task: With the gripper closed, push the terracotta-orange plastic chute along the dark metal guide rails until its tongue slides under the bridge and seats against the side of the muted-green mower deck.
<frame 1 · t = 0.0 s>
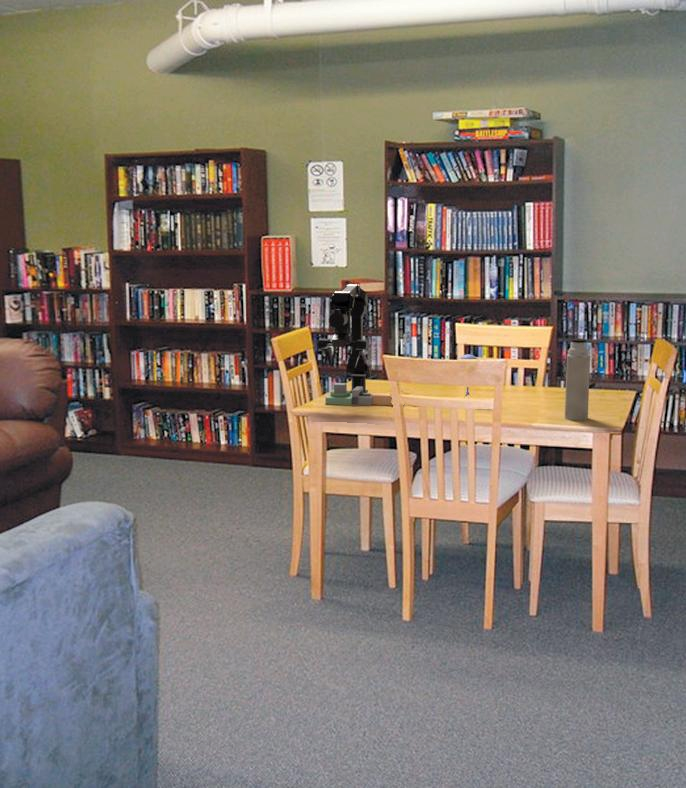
hand: (343, 366, 400), 15 cm above the table, fingers open, 9 cm apart
thermos bottle: (576, 418, 377), on the table
chute: (386, 397, 405), point 2 cm above the table, slide at 6.5 cm
deck: (341, 402, 409), on the table
baby rattle: (467, 401, 410), on the table
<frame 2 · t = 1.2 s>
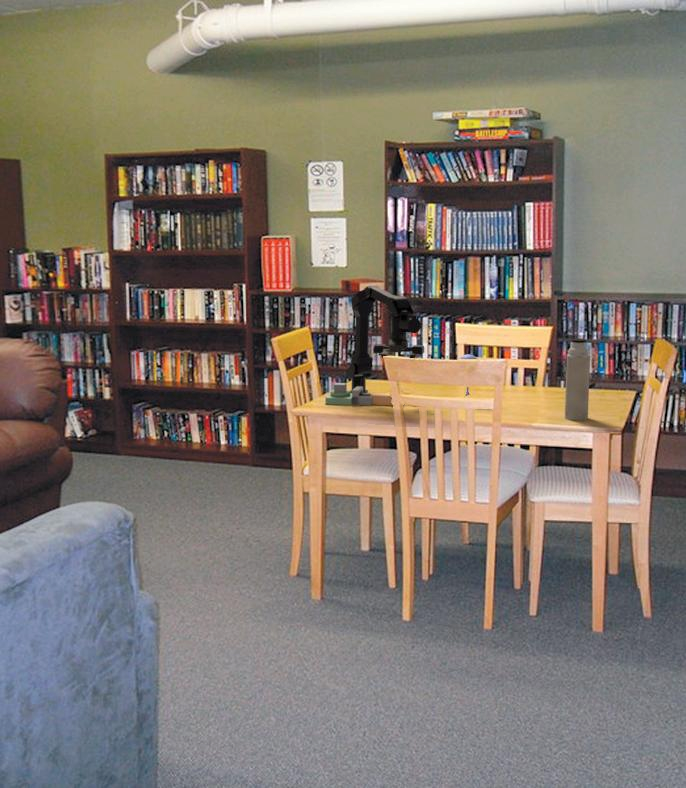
hand: (398, 371, 404), 12 cm above the table, fingers open, 8 cm apart
nothing on the table moved.
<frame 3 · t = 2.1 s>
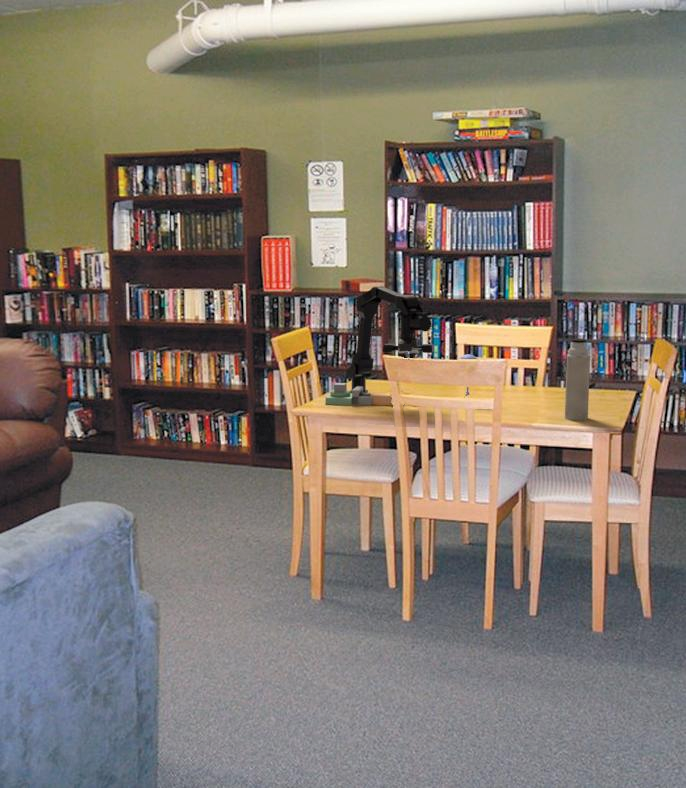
hand: (408, 371, 402), 13 cm above the table, fingers closed
nothing on the table moved.
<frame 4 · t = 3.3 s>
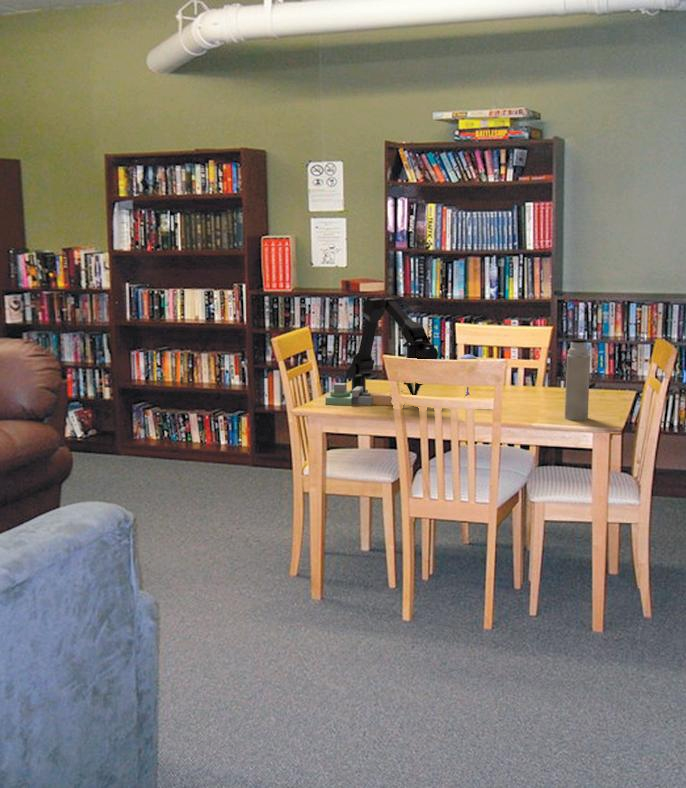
hand: (414, 400, 403), 2 cm above the table, fingers closed
nothing on the table moved.
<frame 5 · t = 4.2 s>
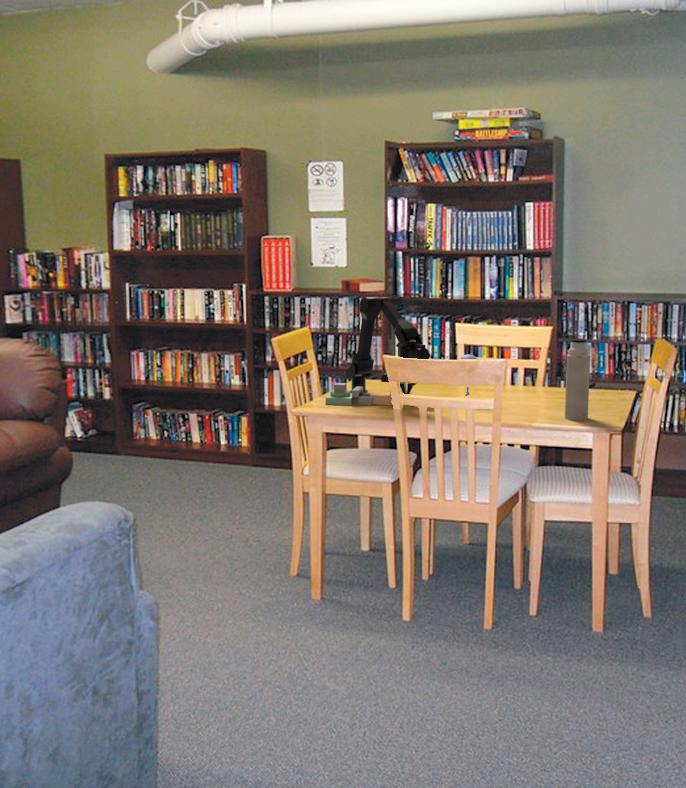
hand: (406, 400, 404), 1 cm above the table, fingers closed
chute: (385, 397, 405), point 2 cm above the table, slide at 6.3 cm, touching gripper
everything else where it was.
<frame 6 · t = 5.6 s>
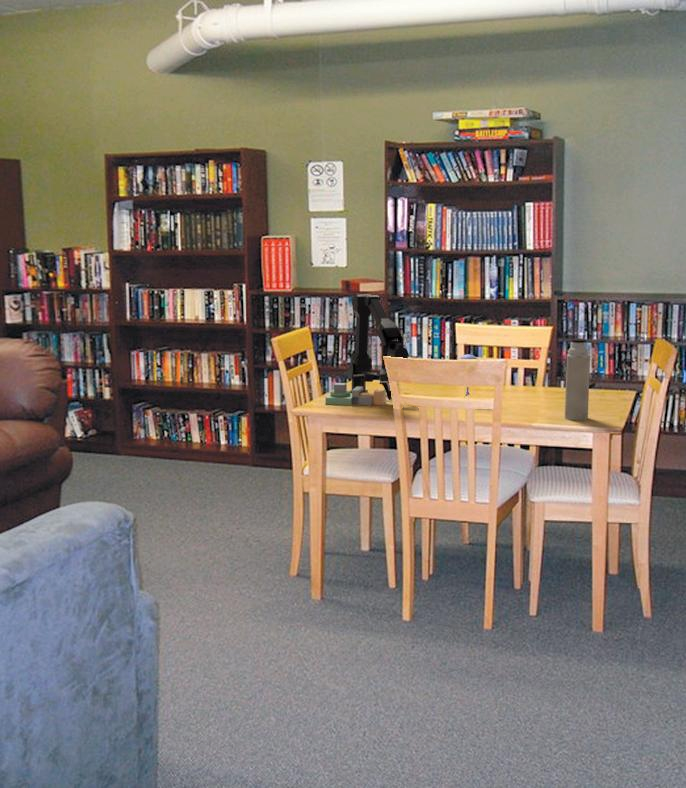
hand: (389, 399, 405), 1 cm above the table, fingers closed
chute: (369, 396, 406), point 2 cm above the table, slide at -0.1 cm, touching gripper
everything else where it was.
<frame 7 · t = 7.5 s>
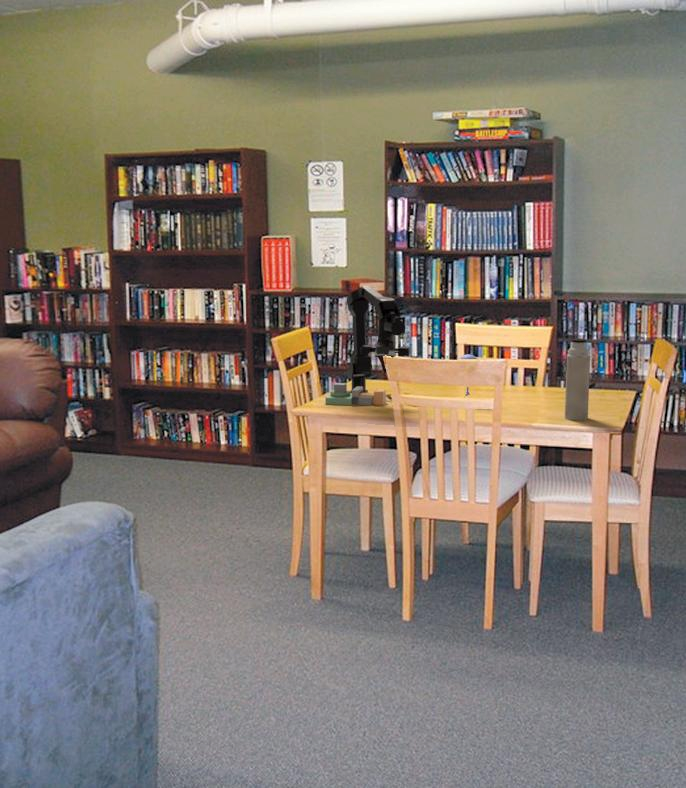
hand: (385, 372, 406), 11 cm above the table, fingers closed
chute: (369, 396, 406), point 3 cm above the table, slide at 0.0 cm
everything else where it was.
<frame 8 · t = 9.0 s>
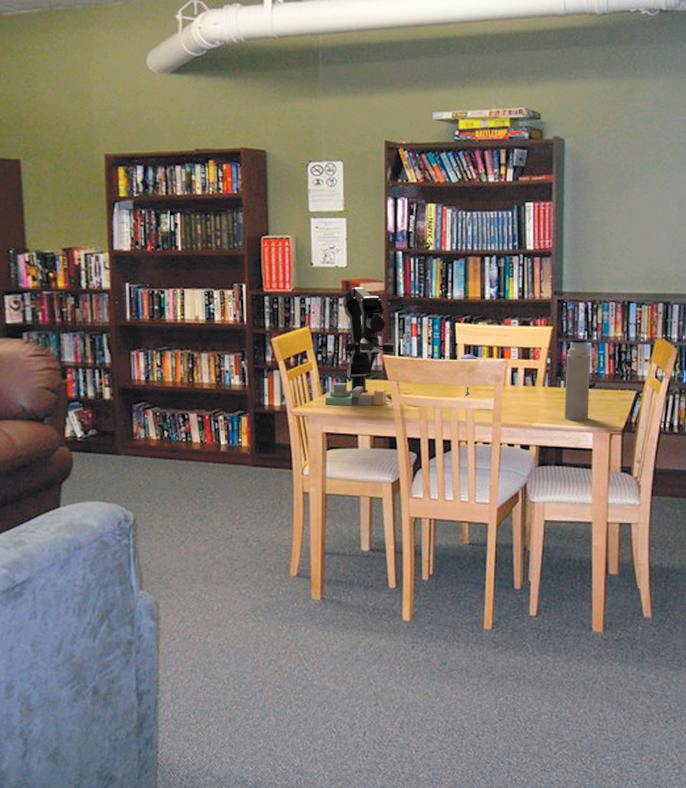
hand: (370, 369, 411), 12 cm above the table, fingers closed
nothing on the table moved.
at the end: chute slide at 0.0 cm; chute touching nothing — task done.
